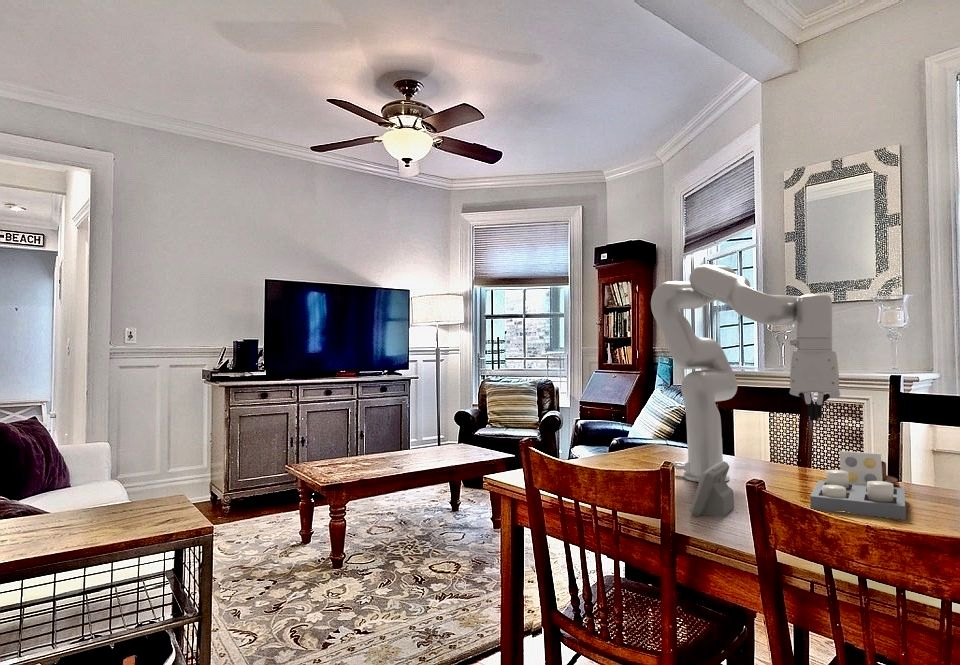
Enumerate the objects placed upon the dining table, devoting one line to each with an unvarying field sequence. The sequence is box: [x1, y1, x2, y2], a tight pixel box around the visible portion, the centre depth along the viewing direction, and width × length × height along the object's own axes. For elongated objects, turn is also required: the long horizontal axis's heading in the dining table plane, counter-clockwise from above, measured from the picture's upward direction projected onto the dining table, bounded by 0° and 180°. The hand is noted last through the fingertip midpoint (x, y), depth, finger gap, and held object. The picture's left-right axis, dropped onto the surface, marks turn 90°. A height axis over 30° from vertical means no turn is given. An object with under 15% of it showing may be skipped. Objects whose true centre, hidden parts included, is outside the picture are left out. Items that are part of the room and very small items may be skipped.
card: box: [839, 450, 883, 485], centre depth 148 cm, size 10×3×10 cm, turn 54°
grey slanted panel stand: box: [689, 460, 735, 518], centre depth 137 cm, size 16×9×11 cm, turn 131°
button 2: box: [825, 469, 849, 488], centre depth 143 cm, size 5×5×4 cm
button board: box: [809, 480, 907, 521], centre depth 137 cm, size 18×18×3 cm
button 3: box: [867, 481, 894, 502], centre depth 131 cm, size 5×5×4 cm
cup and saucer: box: [881, 460, 899, 486], centre depth 156 cm, size 12×12×6 cm
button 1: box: [822, 485, 846, 498], centre depth 136 cm, size 5×5×4 cm
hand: (814, 420), depth 140 cm, fingers closed
